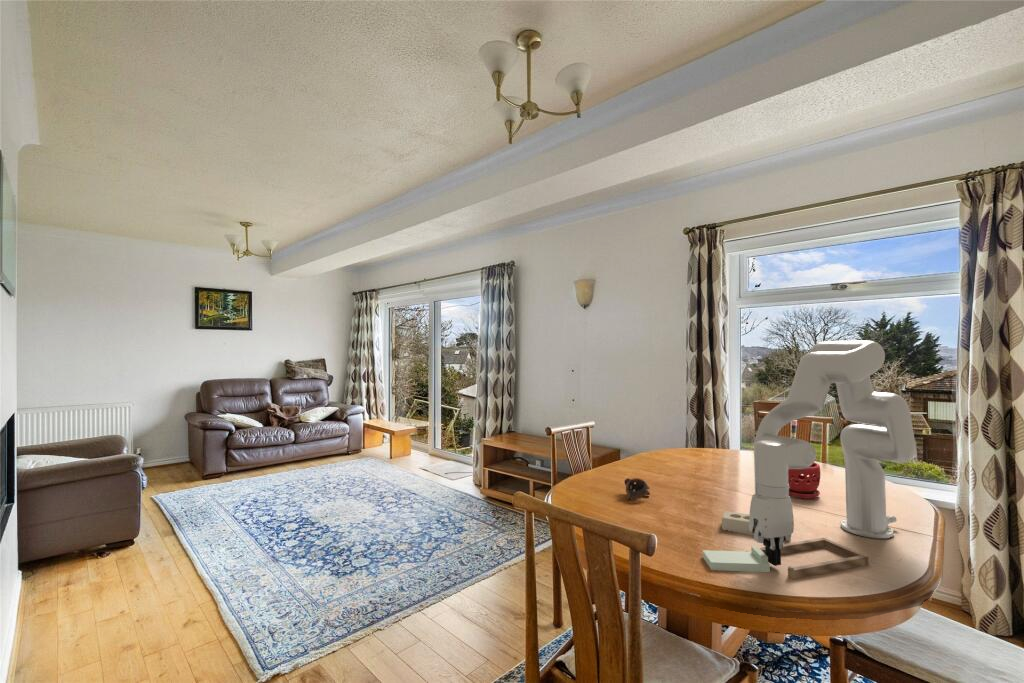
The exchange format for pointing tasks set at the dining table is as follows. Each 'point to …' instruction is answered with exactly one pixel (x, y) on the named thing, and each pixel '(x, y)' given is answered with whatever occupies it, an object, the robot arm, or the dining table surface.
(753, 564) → the cover plate
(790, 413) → the robot arm
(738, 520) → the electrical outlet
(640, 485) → the dark turtle figurine
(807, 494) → the plant pot
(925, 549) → the dining table surface
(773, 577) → the dining table surface
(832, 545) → the brown u-shaped frame
